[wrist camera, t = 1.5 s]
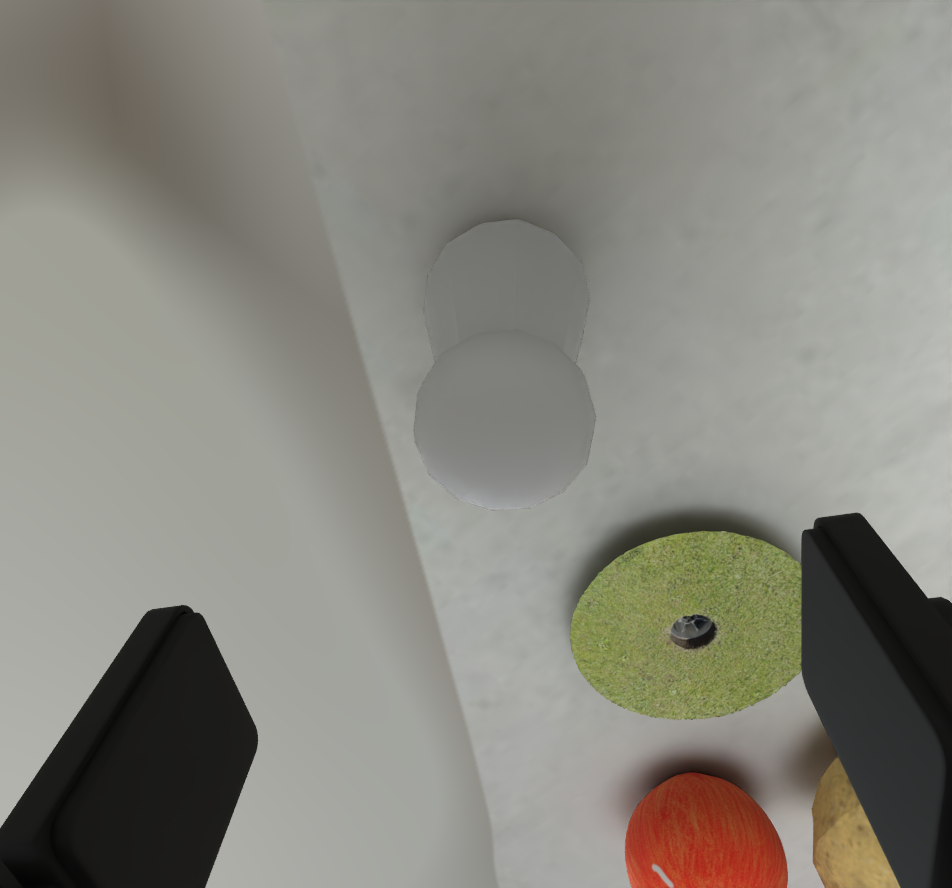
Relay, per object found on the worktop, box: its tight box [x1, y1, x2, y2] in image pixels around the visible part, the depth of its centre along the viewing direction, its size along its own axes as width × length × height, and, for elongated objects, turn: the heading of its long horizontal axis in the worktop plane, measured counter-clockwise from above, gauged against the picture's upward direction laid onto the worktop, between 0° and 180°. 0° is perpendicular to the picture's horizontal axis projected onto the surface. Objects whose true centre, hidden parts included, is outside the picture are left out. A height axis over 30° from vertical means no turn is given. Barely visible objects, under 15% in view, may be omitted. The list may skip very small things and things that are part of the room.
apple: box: [625, 772, 788, 888], centre depth 37 cm, size 8×8×8 cm
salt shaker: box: [414, 219, 596, 510], centre depth 22 cm, size 6×6×13 cm
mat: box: [570, 531, 802, 720], centre depth 34 cm, size 11×11×2 cm
